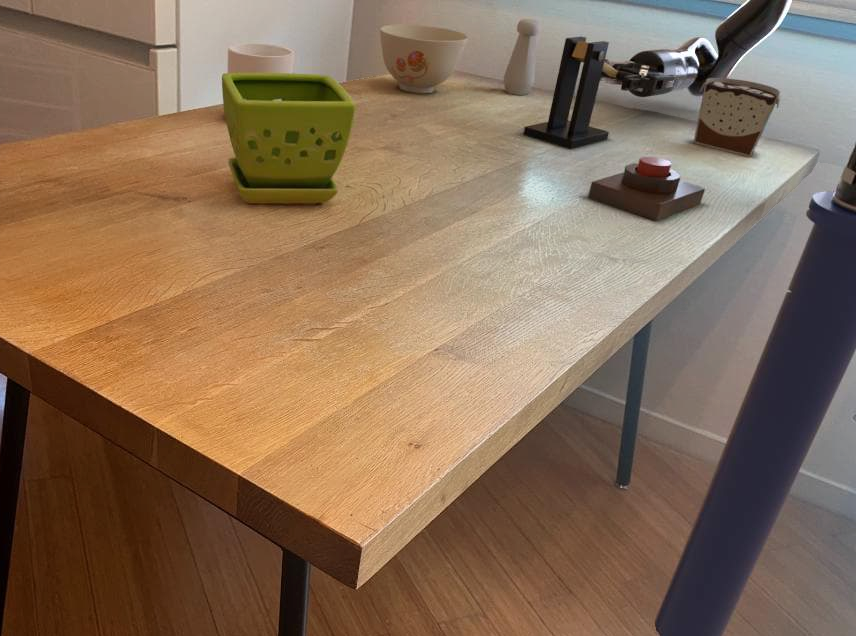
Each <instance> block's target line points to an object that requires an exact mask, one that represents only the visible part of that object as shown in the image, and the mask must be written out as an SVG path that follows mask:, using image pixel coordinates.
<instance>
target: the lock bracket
mask: <svg viewBox="0 0 856 636" xmlns="http://www.w3.org/2000/svg"><path fill="white" fill-rule="evenodd" d="M578 41H582V42H587V37H586V36H582V35H581V36H573V37H565V40H564V45H563V50H562V54H561V59H560V63H559V67H558V68H559V69H558V73H557V78H556V82H555V87H554V91H553V92H554V93H553V96H552V101H551V106H550V110H549V114H548V120H547V121H545V122H540V123H535V124H531V125H526V126H524V128H523V133H522V135H523V136H526V137H529V138H533V139H537V140H539V141H543V142H546V143H549V144H552V145H556V146H558V147H559V146H560V147H562V148H565V149H569V150H571V149H575V148H579V147H583V146H587V145H591V144H596V143H600V142H604V141H607V140H608V138H609V135H610V131H608V130H604V129H602V128H597V127H594V126H592V125H591V126H590V124H591V119H592V115H593V111H594V107H595V104H596V100H597V99H596V98H597V95H598V90H599V86H600V82H601V81H600V78H601V74H602V70H603V66H604V61H605V59H606V57H607V52H608V49H609V43H610V42H609V41H605V40H601V41H594V42H592V41H591V42H587V43H588V46H587V51H586V55H585V59H584V63H583V65H582V69H581V68H580V67H581V64H582V62H579V61H578V60H576V59H575V58H573V57H572V54H573V52H574V49H575V47H576V44H577V42H578ZM580 69H581V72H580ZM579 72H580V73H581V74H580V77H579ZM578 77H579V81H578ZM577 81H578V86H577ZM576 86H577V90H576ZM575 90H576V95H575ZM574 95H575V99H573V98H574ZM573 100H574V103H573ZM572 104H573V109H572V113H571V108H572ZM570 113H571V117H570ZM569 117H570V119H569Z"/></svg>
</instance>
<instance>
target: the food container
mask: <svg viewBox="0 0 856 636" xmlns="http://www.w3.org/2000/svg"><path fill="white" fill-rule="evenodd" d="M702 91H704V92H703V97H701V102H700V107H699V113H698V118H697V123H696V126H695V127H696V128H695V133H694V137H693V143H694V144H696V145H701V146H704V147H709V148H713V149H717V150H720V151H725V152H729V153H733V154H736V155H741V156H745V157H748V158H750V157H752V156H753V154H754V153H755V150H756V148H757V145H758V143H759V141H760V140H761V137H762V135H763V132H764V130H765V128H766V127H767V123H768V121H769V119H770V117H771V115H772V113H773V111H774V108H775V107H776V109H778V108H780V104H781V97H782V96H781V95H780V94H781V91H780V89H778V88H775V87H773V86H771V85H768V84H764V83H759V82H754V81H750V80H744V79H737V78H728V77H727V78H709V79H707V80H706V82H705V83H704V84H703V86H702V88H701V89H700V92H702Z"/></svg>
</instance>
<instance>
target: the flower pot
mask: <svg viewBox="0 0 856 636" xmlns="http://www.w3.org/2000/svg"><path fill="white" fill-rule="evenodd" d="M221 91H222V92H221V93H222V102H223V111H224V118H225V122H226V123H225V124H226V127H227V132H228V136H229V140H230V144H231V147H232V151H233V154H234V156H235V157H229V158H228V160H227V161H228V163H227V164H228V166H229V169H230V172H231V175H232V177H233V180H234V183H235V185H236V186H235V187H236V189H237V191H238V193H239V195H240V197H241V198H242V199H243V200H244V201H245V203H247V204H248V205H249V204H250V205H255V204H315V205H317V206H318V205H319V206H322V205H324V203H327V202H328V201H330V200H331V199H333V198H334V197H335V196H336V195H337V194H338V192H339V189H338V186H337V184H336V183H335V181H334V179H333V177H334V175H335V174H336V172H337V170H338V168H339V167H340V164H341V162H342V160H343V158H344V155H345V153H346V150H347V147H348V143H349V141H350V136H351V132H352V128H353V123H354V118H355V111H356V105H355V104H356V103H355V102H354V99H353V98H352V97H351V96H350V94H349V93H348V92H347V91H346V90H345V89H344V87H342V85H341V84H340V83H338V82H337V80H335V79H334V78H332V76H329V75H326V74H315V73H314V74H313V73H295V74H287V73H228V72H225V73H222V75H221ZM243 99H247V100H243ZM274 99H282V101H273V100H274Z"/></svg>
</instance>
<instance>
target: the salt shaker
mask: <svg viewBox="0 0 856 636" xmlns="http://www.w3.org/2000/svg"><path fill="white" fill-rule="evenodd" d="M541 29H542V23H541V22H540V21H539V20H538V19H533V18H522V19H520V20H519V21H518V22H517V26H516V32H517V33H518V36H517V39H516V42H515V44H514V48H513V50H512V53H511V56H510V58H509V62H508V64H507V67H506V70H505V72H504V75H503V84H504V85H503V86H504V89H505V90H504V91H505V92H506V93H508V94H510V95H515V96H526V95H528V94H529V92H530V90H531V88H532V87H533V86H534V83H535V76H536V75H535V74H536V73H535V72H536V71H535V70H536V69H535V68H536V66H535V65H536V36H538V35H539V34H540V33H541Z"/></svg>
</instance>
